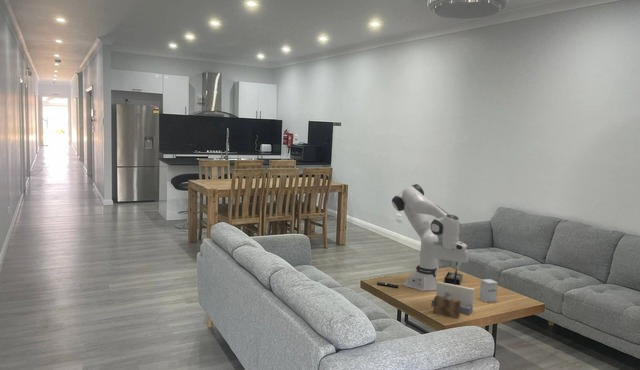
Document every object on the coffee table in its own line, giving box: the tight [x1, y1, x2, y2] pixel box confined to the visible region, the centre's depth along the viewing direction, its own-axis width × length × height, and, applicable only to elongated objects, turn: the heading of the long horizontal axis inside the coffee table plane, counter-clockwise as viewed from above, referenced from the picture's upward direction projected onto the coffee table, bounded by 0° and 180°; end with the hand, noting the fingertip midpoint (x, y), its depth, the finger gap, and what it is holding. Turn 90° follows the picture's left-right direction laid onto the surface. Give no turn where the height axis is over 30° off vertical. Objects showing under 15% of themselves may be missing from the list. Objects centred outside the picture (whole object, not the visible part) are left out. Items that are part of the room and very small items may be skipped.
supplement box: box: [479, 278, 499, 303], centre depth 291 cm, size 7×7×13 cm
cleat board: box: [431, 281, 476, 316], centre depth 275 cm, size 22×9×13 cm, turn 58°
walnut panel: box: [433, 291, 461, 319], centre depth 265 cm, size 14×4×13 cm, turn 58°
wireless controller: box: [443, 261, 464, 286], centre depth 328 cm, size 20×14×17 cm
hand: (448, 267), depth 263 cm, fingers open, 8 cm apart
